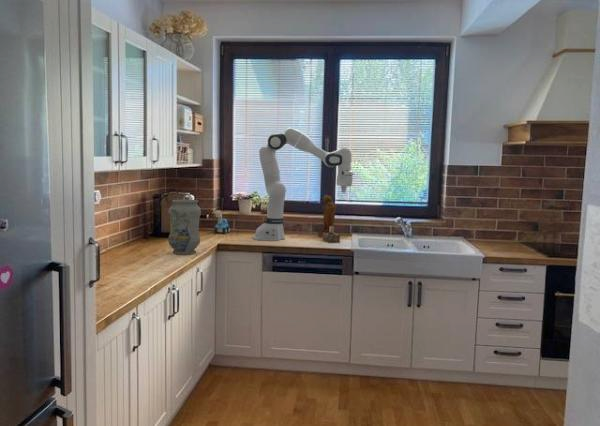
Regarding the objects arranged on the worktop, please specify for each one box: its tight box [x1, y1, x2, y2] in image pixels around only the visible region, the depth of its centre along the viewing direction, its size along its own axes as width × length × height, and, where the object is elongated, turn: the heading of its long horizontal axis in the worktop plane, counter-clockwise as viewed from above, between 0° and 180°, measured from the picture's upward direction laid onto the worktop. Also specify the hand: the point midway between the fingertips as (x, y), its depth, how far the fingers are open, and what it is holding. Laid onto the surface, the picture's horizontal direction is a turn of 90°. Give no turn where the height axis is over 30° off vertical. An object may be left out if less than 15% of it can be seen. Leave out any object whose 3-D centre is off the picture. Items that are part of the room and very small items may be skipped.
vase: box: [167, 199, 202, 256], centre depth 279 cm, size 18×18×30 cm
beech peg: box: [329, 225, 335, 234], centre depth 337 cm, size 3×3×10 cm
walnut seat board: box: [321, 232, 341, 243], centre depth 337 cm, size 9×10×5 cm
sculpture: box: [317, 194, 338, 238], centre depth 355 cm, size 13×9×30 cm
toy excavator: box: [214, 209, 231, 234], centre depth 356 cm, size 9×17×17 cm, turn 167°
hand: (343, 192), depth 337 cm, fingers closed
